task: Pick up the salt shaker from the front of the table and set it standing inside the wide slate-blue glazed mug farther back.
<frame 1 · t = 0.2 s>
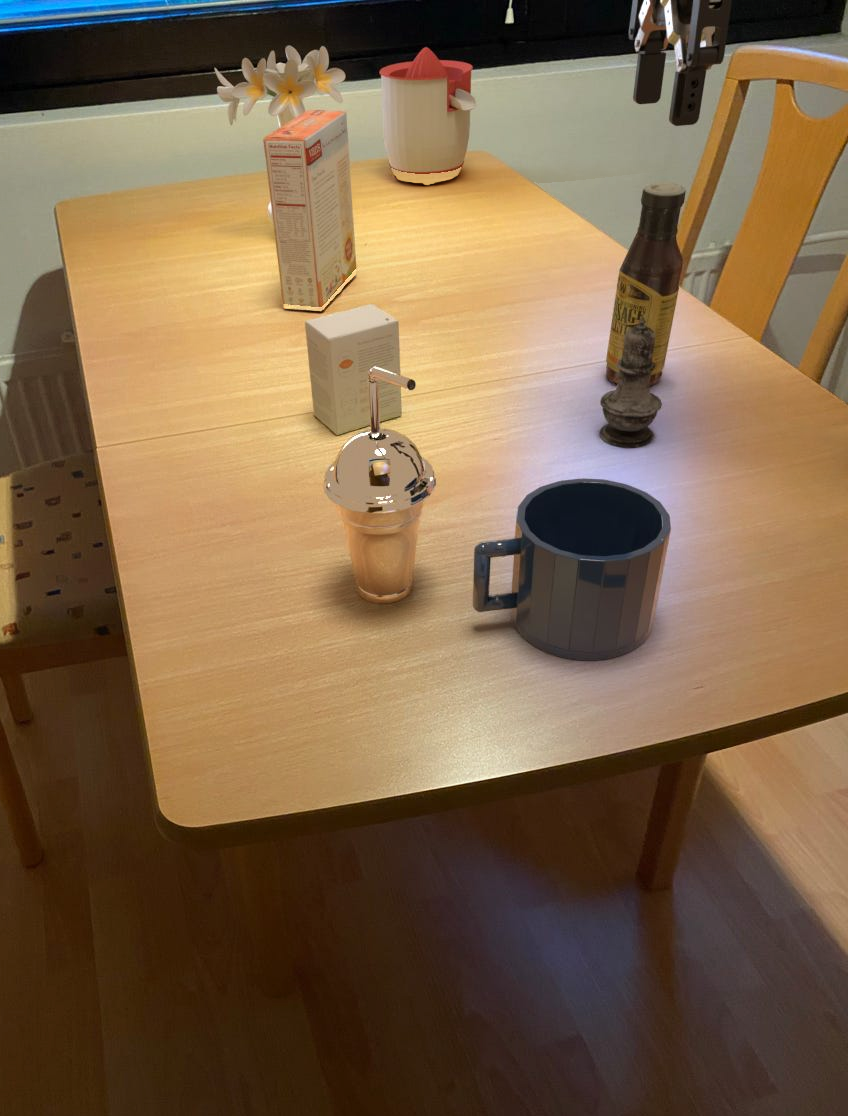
hand: (663, 113, 80), 28 cm above the table, tool pointing down, fingers open, 8 cm apart
sauce bottle: (633, 380, 106), on the table
cracker box: (320, 294, 130), on the table
small box: (357, 418, 102), on the table
flower vase: (295, 236, 150), on the table
salt shaker: (626, 436, 96), on the table
cup with straw: (384, 590, 79), on the table
citrus juicer: (430, 179, 171), on the table
mug: (580, 615, 75), on the table
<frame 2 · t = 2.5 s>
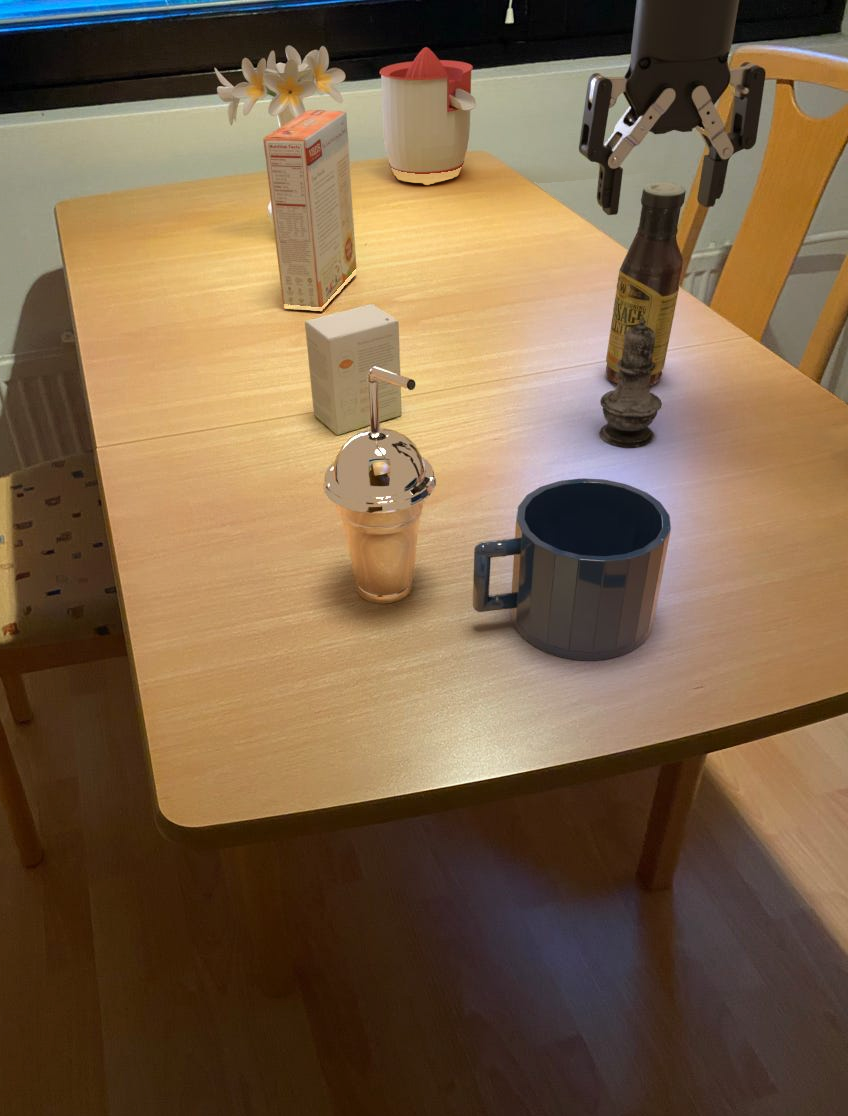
hand: (657, 208, 83), 21 cm above the table, tool pointing down, fingers open, 8 cm apart
nothing on the table moved.
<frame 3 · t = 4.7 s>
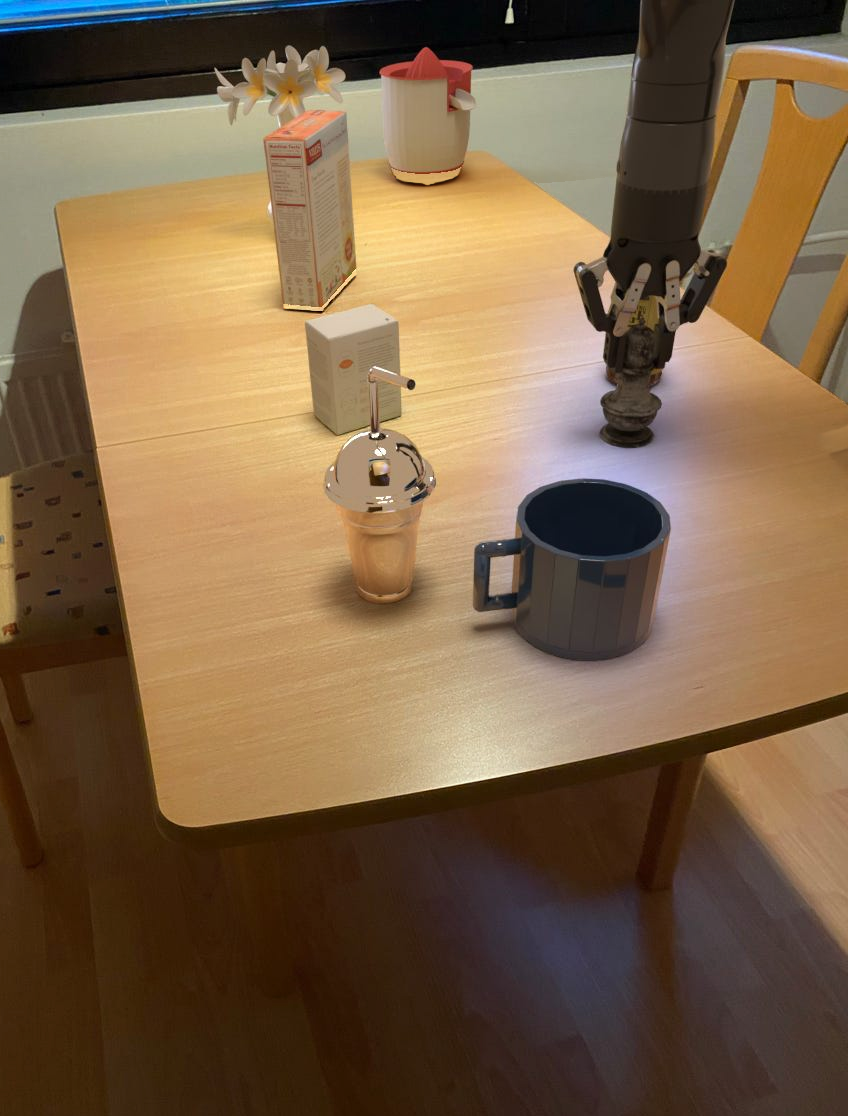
hand: (636, 366, 92), 7 cm above the table, tool pointing down, fingers closed on salt shaker, 3 cm apart
salt shaker: (626, 436, 96), on the table, touching gripper
everything else where it was.
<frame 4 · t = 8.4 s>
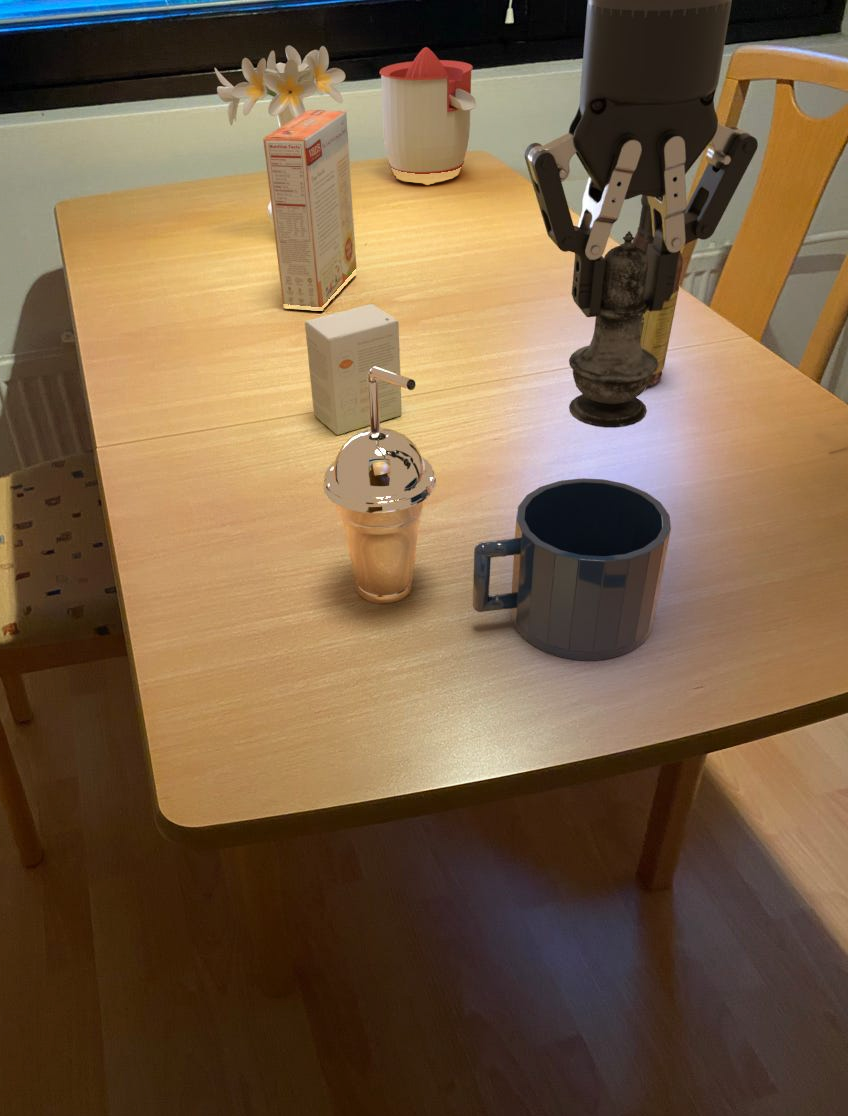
hand: (620, 308, 62), 23 cm above the table, tool pointing down, fingers closed on salt shaker, 3 cm apart
salt shaker: (607, 412, 67), point 16 cm above the table, touching gripper
everything else where it was.
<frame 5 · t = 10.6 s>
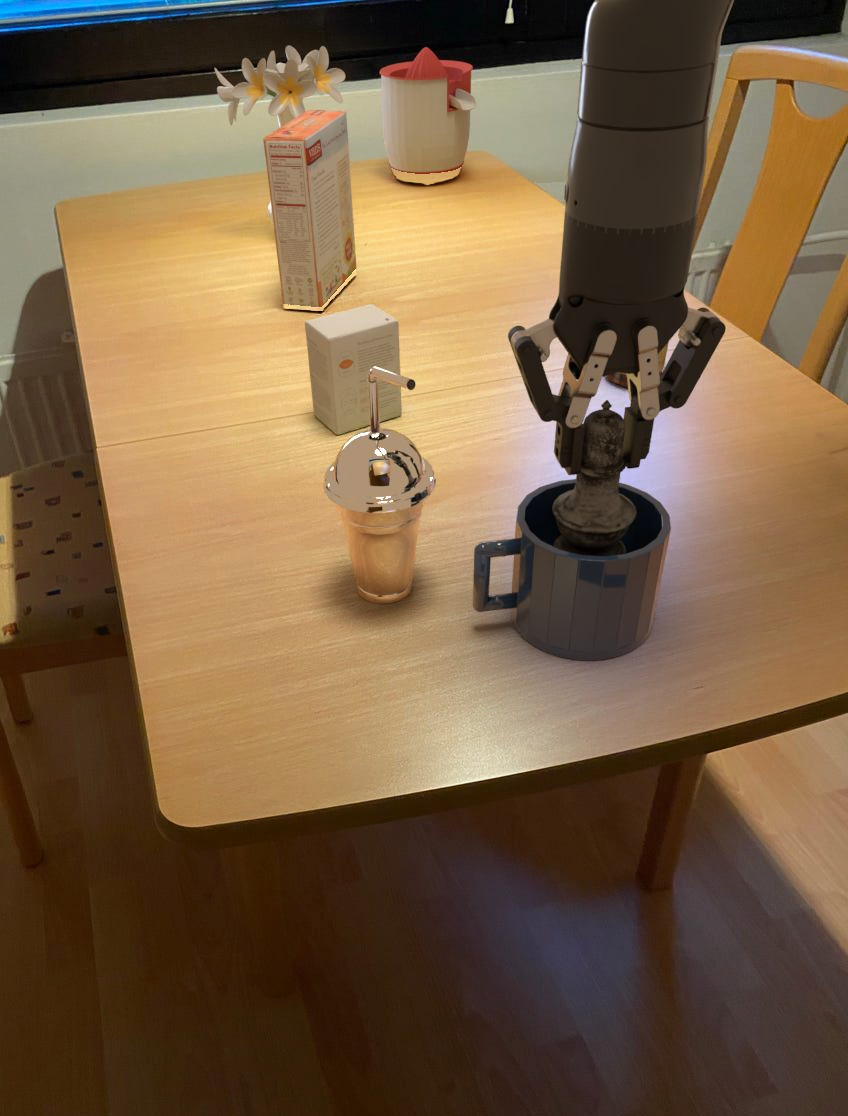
hand: (600, 464, 66), 13 cm above the table, tool pointing down, fingers closed on salt shaker, 3 cm apart
salt shaker: (588, 552, 71), point 6 cm above the table, touching gripper
everything else where it was.
when the fingers open (8 cm above the table, at t = 12.2 s): salt shaker stays where it is, resting on mug.
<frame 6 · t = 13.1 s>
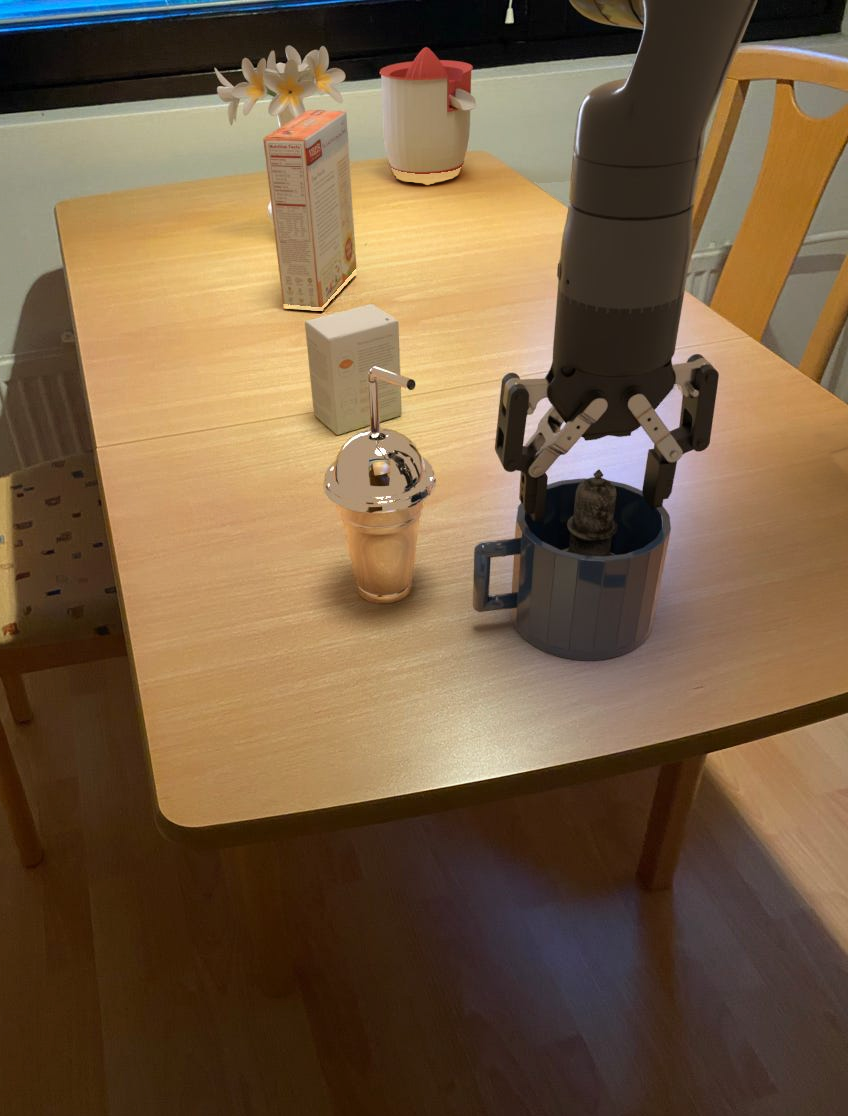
hand: (593, 508, 69), 10 cm above the table, tool pointing down, fingers open, 8 cm apart
salt shaker: (582, 608, 74), point 1 cm above the table, touching mug
everything else where it was.
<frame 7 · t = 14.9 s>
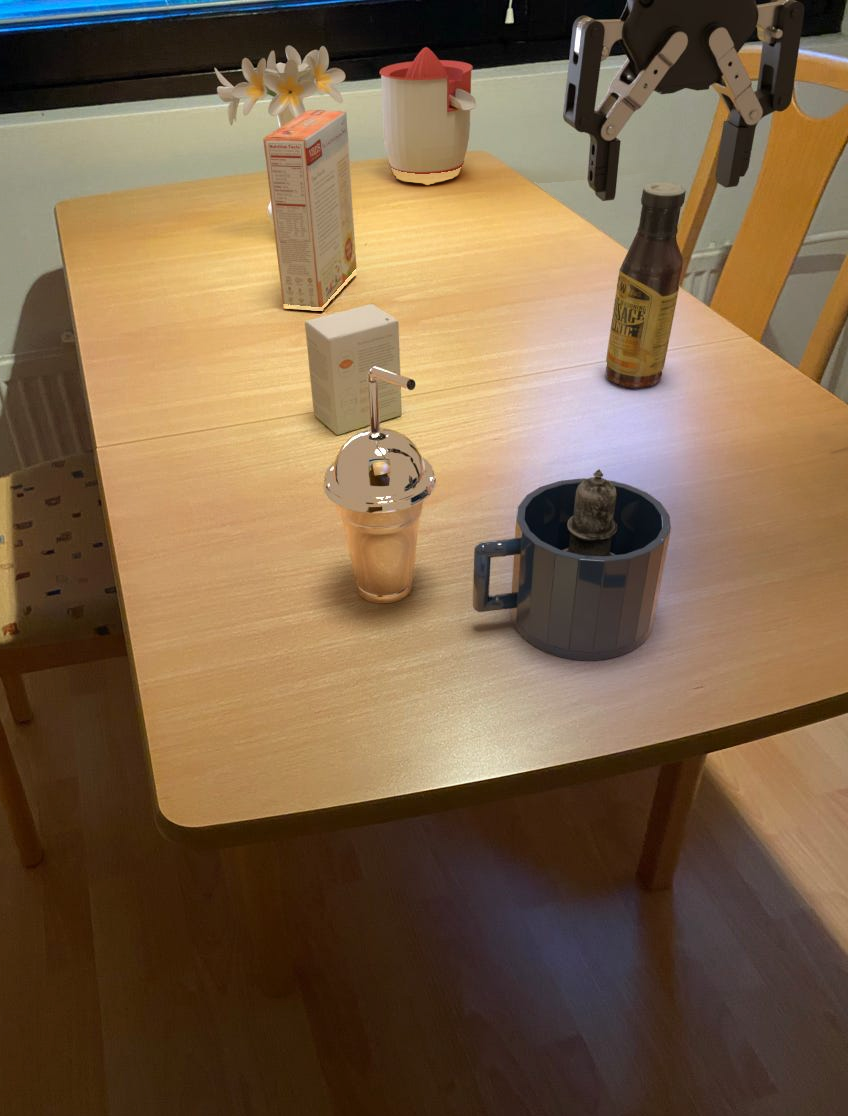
hand: (665, 191, 65), 28 cm above the table, tool pointing down, fingers open, 8 cm apart
nothing on the table moved.
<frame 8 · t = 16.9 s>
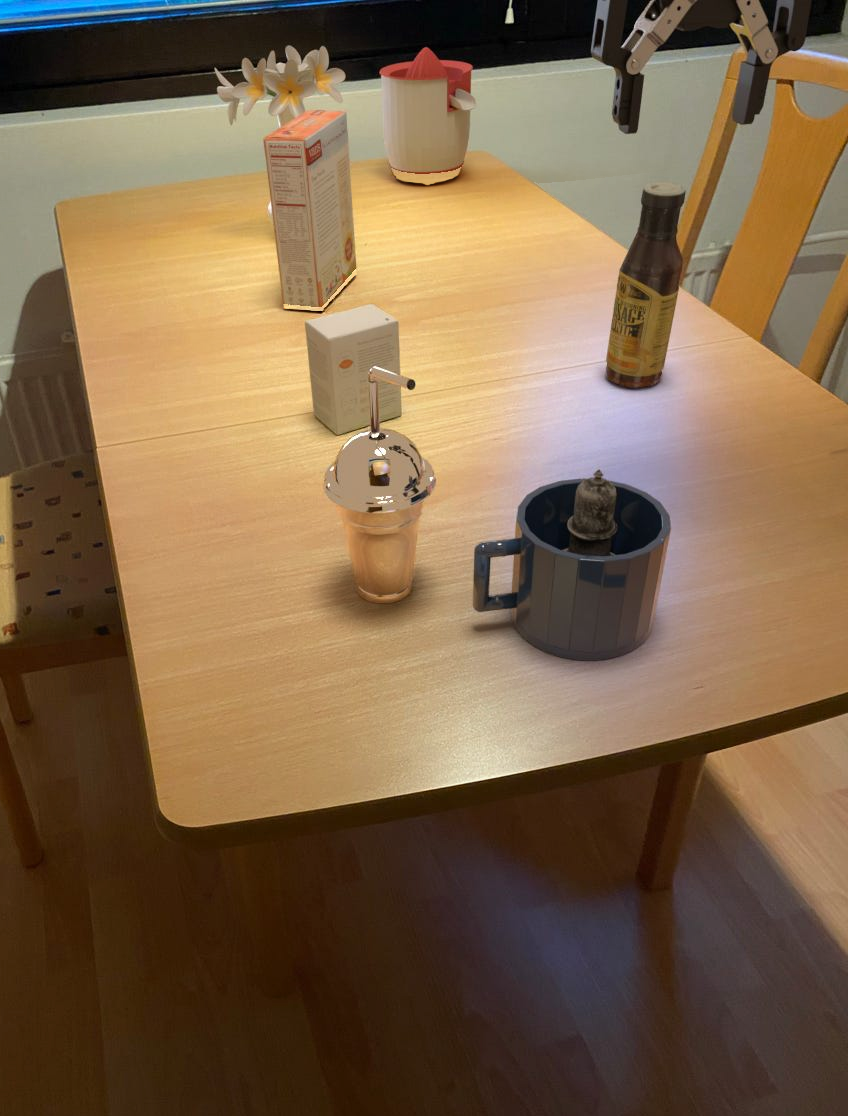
hand: (685, 127, 69), 30 cm above the table, tool pointing down, fingers open, 8 cm apart
nothing on the table moved.
at the end: salt shaker 0.1 cm off-centre in the mug, point 0.6 cm above the mug's base; salt shaker tilted 0° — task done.
